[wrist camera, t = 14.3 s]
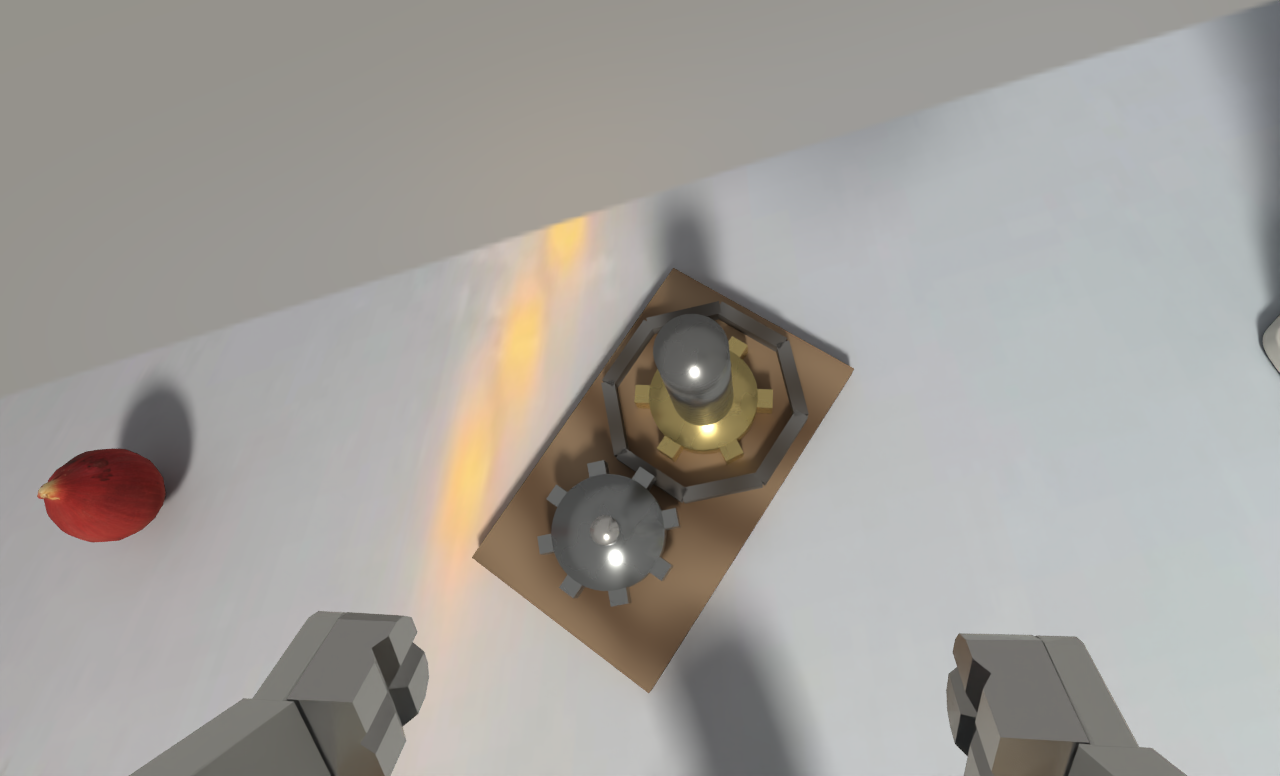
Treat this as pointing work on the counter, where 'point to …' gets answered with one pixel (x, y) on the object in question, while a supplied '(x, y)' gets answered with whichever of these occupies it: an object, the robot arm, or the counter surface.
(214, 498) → the counter surface
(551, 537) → the gear
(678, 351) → the gear
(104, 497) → the onion
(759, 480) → the gear board
